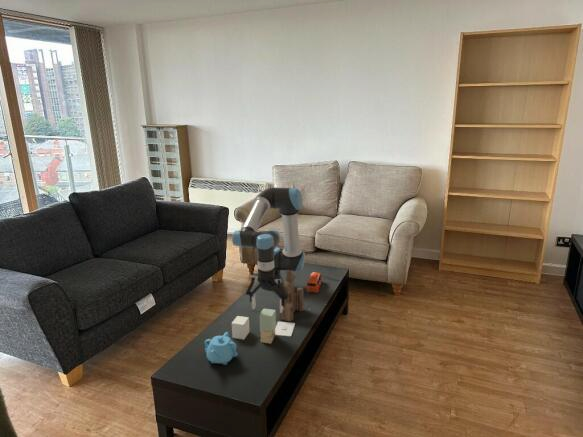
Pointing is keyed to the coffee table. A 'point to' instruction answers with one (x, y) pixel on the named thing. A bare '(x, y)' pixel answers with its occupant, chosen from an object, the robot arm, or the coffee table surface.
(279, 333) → the page
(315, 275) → the toy bus
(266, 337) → the maple base block
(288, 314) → the wooden toy
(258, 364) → the coffee table surface
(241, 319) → the cream block
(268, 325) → the sage block
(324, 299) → the coffee table surface
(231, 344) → the teapot
